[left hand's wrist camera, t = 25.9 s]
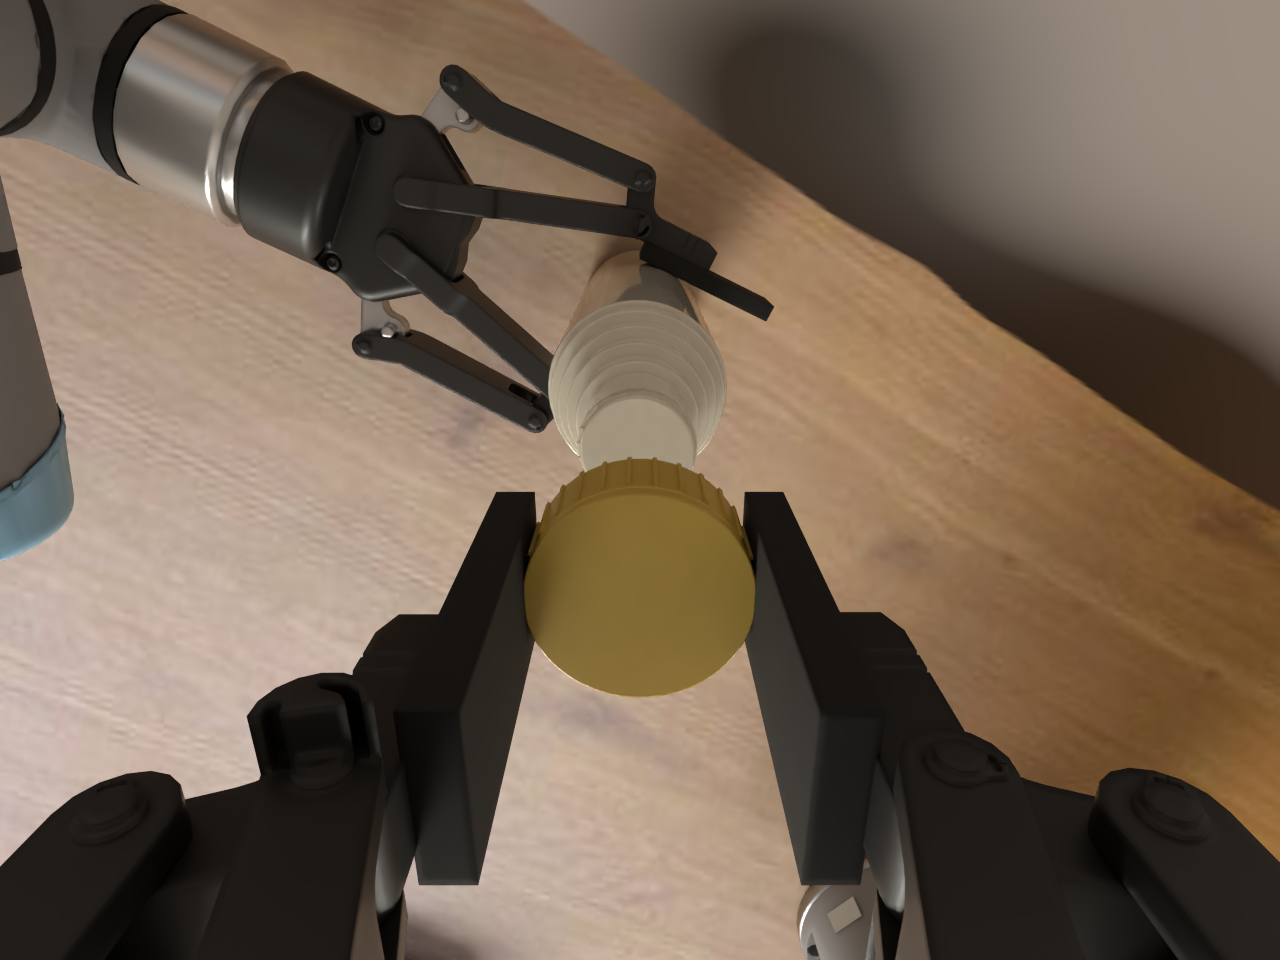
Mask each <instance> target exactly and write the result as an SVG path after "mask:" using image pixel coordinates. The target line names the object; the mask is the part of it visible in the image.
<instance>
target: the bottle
mask: <svg viewBox="0 0 1280 960" xmlns="http://www.w3.org/2000/svg"><path fill="white" fill-rule="evenodd" d="M640 251H641V250H633V251H627V252H623V253H620V254H617V255H615V256H613V257H611V258H610V259H608V260H607V261H605V262H604V263H603V264H602V265H601V266H600V267H599V268H598V269H597V270H596V271H595V273H594V274H593V276H592V278H591V279H590V281H589V283H588V285H587V287H586V289H585V292H584V294H583V296H582V298H581V300H580V302H579V304H578V306H577V308H576V310H575V312H574V314H573V316H572V319H571V321H570V323H569V325H568V327H567V329H566V331H565V333H564V335H563V337H562V339H561V341H560V344H559V346H558V348H557V350H556V352H555V355H554V357H553V360H552V363H551V367H550V371H549V380H548V395H549V401H550V407H551V410H552V413H553V416H554V419H555V423H556V425H557V427H558V429H559V432H560V434H561V435H562V437H563V438H564V440H565V442H566V443H567V444H568V445H569V447H570V448H571V449H572V450H573V451H574V452H575V453H576V454H577V455H578V456H579V460H580V463H581V465H582V468H583V470H584V472H587V471H589V470H591V469H593V468H596V467H598V466H600V465H602V463H603V462H605V461H607V463H611V462H614V461H620V460H626V459H627V457H632V459H653V457H656V458H657V460H661V461H665V462H669V463H673V464H676V465H677V463H681V464H682V467H684V468H687V469H689V470H691V471H692V469H693V467H694V464H695V460H696V456H697V455H698V454H699V453H700V452H701V451H702V450H703V449H704V448H705V447H706V445H707V444H708V443H709V441H710V440H711V438H712V437H713V435H714V433H715V431H716V429H717V427H718V425H719V422H720V419H721V416H722V413H723V410H724V406H725V401H726V393H727V381H726V372H725V368H724V363H723V360H722V358H721V355H720V352H719V350H718V348H717V346H716V344H715V341H714V339H713V337H712V335H711V333H710V331H709V329H708V326H707V324H706V322H705V320H704V318H703V316H702V314H701V311H700V309H699V307H698V305H697V303H696V301H695V299H694V296H693V294H692V292H691V290H690V288H689V286H688V284H687V282H685V281H683V280H681V279H679V278H677V277H675V276H673V275H671V274H669V273H667V272H665V271H663V270H661V269H659V268H657V267H655V266H653V265H651V264H649V263H647V262H645V261H643V260H640V259H639V253H640Z"/></svg>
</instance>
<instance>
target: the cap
mask: <svg viewBox="0 0 1280 960" xmlns="http://www.w3.org/2000/svg"><path fill="white" fill-rule="evenodd" d="M527 556H530V559H529V563H528V566H527V569H526V573H525V578H524V595H525V610H526V620H527V624H528V626H529V629H530V631H531V634H532V636H533V638H534V639H535V641H536V643H537V644H538V646H539V648H540V649H541V650H542V652H543V653H544V654H545V655H546V657H547V658H548V659H549V660H550V661H551V662H552V663H553V664H554V665H555V666H556V667H557V668H558V669H560V670H561V671H562V672H564V673H565V674H566V675H567V676H569V677H571V678H572V679H574V680H576V681H577V682H579V683H581V684H583V685H585V686H588V687H590V688H592V689H595V690H598V691H601V692H604V693H608V694H613V695H618V696H625V697H654V696H662V695H667V694H671V693H675V692H679V691H682V690H685V689H687V688H690V687H692V686H694V685H696V684H698V683H701V682H703V681H704V680H706V679H707V678H709V677H711V676H712V675H714V674H715V673H716V672H718V671H719V670H720V669H721V668H722V667H724V666H725V665H726V664H727V663H728V662H729V661H730V660H731V659H732V657H733V656H734V655H735V654H736V653H737V651H738V650H739V648H740V647H741V646H742V644H743V643H744V641H745V639H746V637H747V635H748V633H749V631H750V628H751V625H752V623H753V617H754V602H755V586H756V578H755V574H754V571H753V567H752V563H751V560H753V555H752V551H751V548H750V545H749V542H748V538H747V535H746V532H745V529H744V526H741V524H740V521H739V517H738V514H737V511H736V508H735V506H732V507H731V506H730V504H729V502H728V501H727V500H726V499H725V497H724V496H723V492H722V490H721V489H720V488H718V489H716V488H715V487H714V486H713V485H712V484H711V483H710V482H708V481H707V480H706V479H704V475H703V474H701V473H700V474H699V475H698V474H696V473H695V472H693V471H691V470H689V469H687V468H684V467H682V464H681V463H677V465H676V464H673V463H669V462H665V461H661V460H657V458H656V457H653V459H632V457H627V459H626V460H620V461H614V462H611V463H607V461H605V462H603V463H602V465H600V466H598V467H596V468H593V469H591V470H589V471H587V472H584V471H582V472H580V475H579V476H578V477H577V478H575V479H574V480H573V481H572V482H570V483H569V484H568V485H566V486H565V485H563V486H561V489H560V492H559V493H558V494H557V496H556V497H555V498H554V500H553V501H552V502H551V503H549V502H548V503H547V504H546V507H545V510H544V514H543V517H542V520H541V523H540V522H537V525H536V528H535V531H534V535H533V538H532V541H531V544H530V547H529V551H528V554H527Z"/></svg>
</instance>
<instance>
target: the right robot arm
mask: <svg viewBox="0 0 1280 960" xmlns="http://www.w3.org/2000/svg"><path fill="white" fill-rule="evenodd" d="M440 85H441V88H440V90H439V91H438V92H437V94H436V95H435V97H434V98H433V100H432V101H431V103H430V104H429V105H428V107H427V108H426V110H425V111H424V113H423V114H422V116H418V115H394V114H391V113H389V112H387V111H385V110H383V109H381V108H379V107H377V106H375V105H373V104H371V103H369V102H367V101H365V100H363V99H361V98H359V97H357V96H355V95H353V94H351V93H349V92H347V91H345V90H343V89H341V88H339V87H337V86H335V85H333V84H331V83H329V82H327V81H325V80H322V79H320V78H318V77H316V76H314V75H312V74H310V73H308V72H304V71H300V72H296V73H293V71H292V69H291V68H290V67H289V65H288V64H287V63H286V62H285V61H284V60H282V59H280V58H278V57H276V56H274V55H272V54H270V53H268V52H266V51H264V50H262V49H260V48H258V47H256V46H254V45H252V44H250V43H248V42H246V41H244V40H242V39H240V38H238V37H236V36H234V35H232V34H230V33H228V32H226V31H224V30H222V29H220V28H218V27H216V26H214V25H212V24H210V23H208V22H206V21H204V20H202V19H200V18H198V17H196V16H194V15H192V14H188V13H186V12H184V11H182V10H180V9H178V8H176V7H172V6H169V5H167V4H165V3H163V2H161V1H159V0H0V137H6V138H21V139H29V140H34V141H37V142H41V143H44V144H47V145H50V146H52V147H55V148H57V149H60V150H62V151H64V152H67V153H69V154H71V155H73V156H76V157H78V158H80V159H83V160H85V161H87V162H90V163H92V164H94V165H96V166H99V167H101V168H103V169H105V170H108V171H110V172H112V173H114V174H116V175H119V176H122V177H123V178H125V179H127V180H129V181H131V182H134V183H136V184H138V185H140V186H143V187H145V188H147V189H149V190H151V191H153V192H155V193H157V194H160V195H162V196H164V197H166V198H168V199H170V200H172V201H175V202H177V203H179V204H181V205H183V206H185V207H187V208H190V209H192V210H194V211H196V212H198V213H200V214H202V215H204V216H207V217H209V218H211V219H213V220H215V221H217V222H219V223H222V224H224V225H226V226H230V227H238V226H241V225H242V226H243V228H244V230H245V231H246V232H247V233H248V234H249V235H250V236H251V237H253V238H255V239H257V240H260V241H262V242H264V243H266V244H268V245H271V246H273V247H275V248H277V249H279V250H282V251H284V252H286V253H288V254H290V255H293V256H295V257H297V258H299V259H301V260H304V261H306V262H308V263H310V264H312V265H314V266H317V267H319V268H321V269H323V270H326V271H328V272H330V273H333V274H335V275H336V276H338V277H339V278H341V279H342V280H343V281H344V282H345V283H346V284H347V285H348V286H349V287H350V288H351V290H352V291H353V292H354V293H355V294H356V295H357V296H359V297H360V298H362V304H361V333H360V334H358V335H356V336H355V337H354V339H353V341H352V348H353V350H354V352H355V354H357V355H358V356H359V357H361V358H364V359H370V360H376V361H382V362H389V363H395V364H400V365H402V366H404V367H406V368H408V369H410V370H412V371H414V372H416V373H418V374H420V375H422V376H423V377H425V378H427V379H429V380H431V381H433V382H435V383H437V384H439V385H441V386H443V387H445V388H447V389H449V390H450V391H452V392H454V393H456V394H458V395H460V396H462V397H464V398H466V399H468V400H470V401H472V402H474V403H475V404H477V405H479V406H481V407H483V408H485V409H487V410H489V411H491V412H493V413H495V414H497V415H499V416H501V417H502V418H504V419H506V420H508V421H510V422H512V423H514V424H516V425H518V426H520V427H522V428H524V429H526V430H528V431H529V432H533V433H539V432H541V431H543V430H544V429H545V428H546V426H547V424H548V423H549V422H550V421H551V420H552V419H553V418H554V416H553V413H552V410H551V407H550V401H549V395H548V380H549V371H550V367H551V363H552V360H553V357H554V356H553V355H552V354H551V353H550V352H549V351H548V350H547V349H546V348H544V347H543V346H542V345H541V344H540V343H539V342H538V341H537V340H535V339H534V338H533V337H532V336H531V335H530V334H529V333H528V332H526V331H525V330H524V329H523V328H522V327H521V326H520V325H519V324H518V323H516V322H515V321H514V320H513V319H512V318H511V317H510V316H509V315H507V314H506V313H505V312H504V311H503V310H502V309H501V308H500V307H498V306H497V305H496V304H495V303H494V302H493V301H492V300H491V299H489V298H488V297H487V296H486V295H485V294H484V293H483V292H482V291H481V290H480V289H479V288H478V286H477V285H476V283H475V282H474V281H473V280H472V279H471V278H469V277H468V276H467V275H466V274H465V273H464V272H463V270H464V267H465V265H466V262H467V256H468V245H469V242H470V240H471V239H472V237H473V236H474V235H475V233H476V232H477V231H478V229H479V227H480V224H481V222H482V219H483V217H484V218H493V219H504V220H511V221H518V222H525V223H532V224H539V225H546V226H553V227H560V228H568V229H575V230H582V231H589V232H596V233H603V234H610V235H617V236H624V237H631V238H637V239H639V240H641V241H643V242H644V244H643V246H642V249H641V251H640V253H639V259H640V260H643V261H645V262H647V263H649V264H651V265H653V266H655V267H657V268H659V269H661V270H663V271H665V272H667V273H669V274H671V275H673V276H675V277H677V278H679V279H681V280H683V281H685V282H687V283H689V284H691V285H693V286H695V287H697V288H699V289H701V290H703V291H705V292H707V293H709V294H711V295H713V296H715V297H718V298H720V299H722V300H724V301H726V302H728V303H730V304H732V305H734V306H736V307H738V308H740V309H742V310H744V311H746V312H748V313H750V314H752V315H754V316H756V317H758V318H760V319H762V320H764V321H767V319H768V317H769V315H770V313H771V312H772V310H773V308H774V306H773V305H772V304H771V303H770V302H769V301H768V300H767V299H765V298H764V297H762V296H760V295H758V294H756V293H754V292H752V291H750V290H748V289H746V288H744V287H742V286H740V285H738V284H736V283H734V282H732V281H730V280H728V279H726V278H724V277H722V276H720V275H718V274H716V273H714V272H712V271H710V270H709V269H710V267H711V265H712V263H713V261H714V259H715V257H716V255H717V252H716V251H715V250H714V248H713V247H712V246H711V245H710V244H709V243H708V242H707V241H705V240H703V239H701V238H699V237H697V236H695V235H693V234H691V233H689V232H687V231H685V230H683V229H681V228H679V227H678V226H676V225H674V224H672V223H670V222H668V221H666V220H664V219H662V218H661V217H659V216H658V215H657V214H656V212H655V209H654V194H655V184H656V174H655V171H654V169H653V168H652V167H651V166H650V165H648V164H647V163H644V162H642V161H640V160H637V159H635V158H633V157H630V156H628V155H626V154H623V153H621V152H619V151H616V150H614V149H612V148H609V147H607V146H605V145H602V144H600V143H597V142H595V141H593V140H590V139H588V138H586V137H583V136H581V135H579V134H576V133H574V132H572V131H569V130H567V129H565V128H562V127H560V126H558V125H555V124H553V123H551V122H548V121H546V120H544V119H541V118H539V117H537V116H534V115H532V114H530V113H527V112H525V111H523V110H520V109H518V108H516V107H513V106H511V105H509V104H506V103H504V102H502V101H501V100H500V99H499V98H498V97H497V96H495V95H494V94H493V93H492V92H491V91H490V90H489V89H488V88H487V87H486V86H485V85H484V84H483V83H481V82H480V81H479V80H478V79H477V78H476V77H475V76H474V75H472V74H470V73H469V72H468V71H466V70H464V69H463V68H461V67H459V66H458V65H448V66H446V67H445V68H444V69H443V70H442V72H441V74H440ZM483 125H484V126H485V127H487V128H489V129H491V130H493V131H495V132H497V133H499V134H501V135H504V136H506V137H509V138H511V139H513V140H516V141H518V142H520V143H523V144H525V145H528V146H530V147H532V148H535V149H537V150H539V151H542V152H544V153H547V154H549V155H551V156H554V157H556V158H558V159H561V160H563V161H566V162H568V163H570V164H573V165H575V166H577V167H580V168H582V169H585V170H587V171H589V172H592V173H594V174H596V175H599V176H601V177H604V178H606V179H608V180H611V181H613V182H615V183H618V184H620V185H623V186H625V187H627V188H628V192H627V204H626V206H623V205H616V204H609V203H602V202H596V201H589V200H582V199H575V198H568V197H561V196H554V195H547V194H540V193H533V192H526V191H519V190H512V189H506V188H500V187H494V186H487V185H480V184H474V183H473V181H472V180H471V178H470V176H469V175H468V173H467V171H466V170H465V168H464V166H463V164H462V163H461V161H460V159H459V158H458V156H457V154H456V152H455V151H454V149H453V147H452V146H451V144H450V142H449V141H448V139H447V137H446V135H445V133H446V132H447V131H448V130H449V129H451V128H458V129H460V130H462V131H465V132H469V133H474V132H477V131H479V130H480V129H481V128H482V126H483ZM637 239H636V240H637ZM21 269H22V266H21V262H20V258H19V254H18V250H17V243H16V239H15V234H14V230H13V226H12V222H11V218H10V214H9V210H8V205H7V201H6V197H5V193H4V189H3V185H2V181H1V176H0V561H3V560H6V559H9V558H11V557H14V556H16V555H18V554H21V553H23V552H25V551H27V550H29V549H31V548H33V547H35V546H37V545H38V544H40V543H42V542H43V541H45V540H46V539H48V538H49V537H51V536H52V535H53V534H54V533H55V532H56V531H58V530H59V529H60V528H61V527H62V526H63V524H64V523H65V522H66V521H67V519H68V517H69V515H70V513H71V511H72V508H73V504H74V492H73V485H72V479H71V472H70V465H69V459H68V452H67V445H66V439H65V433H66V425H65V421H64V414H63V413H62V411H61V409H60V408H59V406H58V403H56V399H55V395H54V392H53V388H52V384H51V380H50V377H49V373H48V369H47V365H46V361H45V358H44V354H43V350H42V346H41V342H40V339H39V335H38V331H37V327H36V324H35V320H34V316H33V312H32V308H31V305H30V301H29V297H28V293H27V289H26V286H25V282H24V278H23V274H22V271H21ZM416 294H423V295H424V296H425V297H427V298H428V299H429V300H430V301H431V302H432V303H434V304H435V305H436V306H437V307H438V308H439V309H441V310H442V311H443V312H445V313H446V314H448V315H451V316H453V317H454V318H456V319H457V320H458V321H459V322H460V323H461V324H463V325H464V326H465V327H466V328H467V329H468V330H469V331H471V332H472V333H473V334H474V335H475V336H476V337H478V338H479V339H480V340H481V341H482V342H483V343H484V344H486V345H487V346H488V347H489V348H490V349H491V350H492V351H494V352H495V353H496V354H497V355H498V356H499V357H501V358H502V359H503V360H504V361H505V362H506V363H507V364H509V365H510V366H511V367H512V368H513V369H514V370H516V371H517V372H518V373H519V374H520V375H521V376H522V377H524V378H525V379H526V380H527V381H528V382H529V383H531V384H532V385H533V386H534V387H535V388H536V389H537V390H539V391H540V392H541V393H540V394H538V393H537V392H535V391H533V390H531V389H529V388H527V387H525V386H523V385H521V384H520V383H518V382H516V381H514V380H512V379H510V378H508V377H506V376H505V375H503V374H501V373H499V372H497V371H495V370H493V369H491V368H489V367H488V366H486V365H484V364H482V363H480V362H478V361H476V360H474V359H473V358H471V357H469V356H467V355H465V354H463V353H461V352H459V351H457V350H456V349H454V348H452V347H450V346H448V345H446V344H444V343H442V342H441V341H439V340H437V339H435V338H433V337H431V336H429V335H427V334H424V333H422V332H419V331H416V330H412V329H410V325H409V322H408V320H407V319H406V318H405V317H404V316H402V315H400V314H398V313H396V312H394V311H393V310H392V308H391V307H390V305H389V300H391V299H396V298H401V297H406V296H411V295H416Z"/></svg>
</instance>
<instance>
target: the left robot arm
mask: <svg viewBox="0 0 1280 960" xmlns="http://www.w3.org/2000/svg"><path fill="white" fill-rule="evenodd" d="M536 525H537V523H536V506H535V492H496V494H495V496H494V498H493V500H492V502H491V504H490V506H489V509H488V511H487V513H486V515H485V517H484V519H483V521H482V523H481V526H480V528H479V530H478V532H477V534H476V536H475V538H474V540H473V543H472V545H471V547H470V549H469V551H468V553H467V555H466V557H465V559H464V562H463V564H462V566H461V568H460V570H459V572H458V574H457V576H456V579H455V581H454V583H453V585H452V587H451V589H450V591H449V593H448V596H447V598H446V600H445V602H444V604H443V606H442V608H441V610H440V612H439V614H399V615H398V616H396V617H395V618H394V619H392V620H391V621H390V622H389V623H387V624H386V625H385V626H383V627H382V628H381V629H379V630H378V631H377V632H376V633H375V634H374V636H373V638H372V639H371V641H370V643H369V644H368V646H367V648H366V649H365V651H364V653H363V657H361V658H360V659H359V661H358V663H357V665H356V666H355V668H354V670H353V675H349V674H346V673H319V674H314V675H310V676H306V677H301V678H297V679H295V680H293V681H291V682H288V683H286V684H284V685H281V686H279V687H277V688H275V689H274V690H272V691H271V692H270V693H268V694H267V695H266V696H264V697H263V698H262V699H260V700H259V701H258V702H257V703H256V704H255V706H254V707H253V708H252V710H251V711H250V713H249V714H248V715H247V719H248V724H249V728H250V732H251V736H252V740H253V744H254V748H255V752H256V757H257V761H258V765H259V769H260V773H261V776H260V779H259V780H258V781H256V782H253V783H249V784H246V785H243V786H240V787H236V788H232V789H228V790H224V791H219V792H215V793H211V794H207V795H202V796H198V797H194V798H189V799H185V798H184V795H183V791H182V788H181V784H179V783H178V782H177V781H176V780H175V779H174V778H173V777H172V776H171V775H169V774H164V773H159V772H154V771H147V772H138V773H129V774H124V775H121V776H118V777H115V778H112V779H109V780H106V781H103V782H100V783H98V784H96V785H94V786H92V787H91V788H89V789H87V790H85V791H83V792H81V793H79V794H78V795H76V796H74V797H72V798H71V799H70V800H69V801H67V802H66V803H65V804H64V805H62V806H61V807H60V808H59V809H58V810H56V811H55V812H54V813H53V814H51V815H50V816H49V817H48V818H47V819H46V820H45V821H44V822H43V823H42V824H41V825H40V827H39V828H38V829H37V830H36V831H35V832H34V833H33V834H32V835H31V836H30V837H29V838H28V839H27V840H26V841H25V842H24V843H23V844H22V845H21V846H20V847H19V848H18V849H17V850H16V851H15V852H14V853H13V854H12V855H11V856H10V857H9V858H8V859H7V860H6V861H5V862H4V863H3V864H2V865H1V866H0V960H404V955H405V943H406V932H407V920H408V915H407V908H406V901H405V895H404V889H403V888H404V885H405V882H406V879H407V876H408V873H409V870H410V867H411V864H412V861H413V858H414V856H415V862H416V869H417V875H418V882H419V885H478V884H479V879H480V875H481V871H482V866H483V862H484V858H485V853H486V849H487V845H488V840H489V836H490V832H491V827H492V823H493V819H494V815H495V810H496V806H497V802H498V797H499V793H500V789H501V784H502V780H503V776H504V771H505V767H506V763H507V758H508V754H509V750H510V745H511V741H512V737H513V732H514V728H515V724H516V719H517V715H518V711H519V706H520V702H521V698H522V694H523V689H524V685H525V681H526V676H527V672H528V668H529V663H530V659H531V655H532V650H533V646H534V642H535V639H534V638H533V636H532V634H531V631H530V629H529V626H528V624H527V620H526V610H525V595H524V578H525V573H526V569H527V566H528V563H529V559H530V556H527V554H528V551H529V547H530V544H531V541H532V538H533V535H534V531H535V528H536ZM743 526H744V529H745V532H746V535H747V538H748V542H749V545H750V548H751V551H752V555H753V560H751V563H752V567H753V571H754V574H755V578H756V586H755V602H754V617H753V623H752V625H751V628H750V631H749V633H748V635H747V637H746V639H745V644H746V648H747V652H748V657H749V661H750V665H751V670H752V674H753V678H754V683H755V687H756V691H757V696H758V700H759V704H760V709H761V713H762V717H763V721H764V726H765V730H766V734H767V739H768V743H769V747H770V752H771V756H772V760H773V765H774V769H775V773H776V778H777V782H778V786H779V791H780V795H781V799H782V804H783V808H784V812H785V817H786V821H787V825H788V830H789V834H790V838H791V843H792V847H793V851H794V855H795V860H796V864H797V868H798V873H799V877H800V881H801V885H812V886H811V887H810V888H809V889H808V891H807V892H806V894H805V895H804V897H803V899H802V901H801V904H800V907H799V910H798V915H797V929H798V933H799V938H800V943H801V948H802V951H803V953H804V956H805V959H806V960H1280V862H1279V861H1278V860H1277V859H1276V858H1275V857H1274V856H1273V855H1272V854H1271V853H1270V852H1269V851H1268V850H1267V849H1266V848H1265V847H1264V846H1263V845H1262V844H1261V843H1260V842H1259V841H1258V840H1257V839H1256V838H1255V837H1254V836H1253V835H1252V834H1251V833H1250V832H1249V831H1248V830H1247V829H1246V828H1245V827H1244V826H1243V825H1242V824H1241V823H1240V822H1239V821H1238V820H1237V819H1236V818H1235V817H1234V816H1233V815H1232V813H1231V812H1229V811H1228V810H1227V809H1226V808H1225V807H1223V806H1222V805H1221V804H1220V803H1218V802H1217V801H1216V800H1215V799H1213V798H1212V797H1211V796H1210V795H1208V794H1207V793H1205V792H1203V791H1201V790H1200V789H1198V788H1196V787H1194V786H1192V785H1190V784H1188V783H1186V782H1185V781H1183V780H1181V779H1178V778H1175V777H1172V776H1169V775H1166V774H1162V773H1159V772H1156V771H1152V770H1143V769H1135V768H1126V769H1121V770H1116V771H1111V772H1110V773H1108V774H1107V775H1106V776H1105V777H1104V778H1103V779H1102V780H1101V781H1100V782H1099V786H1098V789H1097V792H1096V796H1090V795H1086V794H1082V793H1077V792H1073V791H1069V790H1064V789H1060V788H1056V787H1052V786H1047V785H1043V784H1040V783H1037V782H1033V781H1030V780H1027V779H1024V778H1022V777H1020V775H1019V773H1018V771H1017V770H1016V768H1015V767H1014V765H1013V764H1012V762H1011V760H1010V759H1009V758H1008V757H1007V756H1006V755H1005V754H1004V753H1002V752H1001V751H1000V750H999V749H998V748H996V747H995V746H994V745H993V744H991V743H989V742H987V741H985V740H983V739H981V738H979V737H977V736H975V735H973V734H971V733H968V732H965V731H964V729H963V727H962V726H961V724H960V722H959V721H958V719H957V717H956V716H955V714H954V712H953V711H952V709H951V707H950V706H949V704H948V702H947V701H946V699H945V697H944V696H943V694H942V692H941V691H940V689H939V687H938V686H937V684H936V682H935V681H934V679H933V677H932V676H931V674H930V673H927V667H926V666H925V664H924V662H923V661H922V659H921V657H920V656H919V655H917V651H916V649H915V647H914V646H913V644H912V642H911V641H910V639H909V637H908V636H907V634H906V632H905V631H904V630H903V629H902V628H901V627H900V626H898V625H897V624H896V623H894V622H893V621H892V620H890V619H889V618H888V617H886V616H885V615H884V614H882V613H881V612H840V611H839V609H838V607H837V605H836V603H835V601H834V599H833V597H832V595H831V592H830V590H829V588H828V586H827V584H826V582H825V580H824V578H823V575H822V573H821V571H820V569H819V567H818V565H817V563H816V561H815V558H814V556H813V554H812V552H811V550H810V548H809V546H808V544H807V541H806V539H805V537H804V535H803V533H802V531H801V529H800V527H799V524H798V522H797V520H796V518H795V516H794V514H793V512H792V510H791V508H790V505H789V503H788V501H787V499H786V497H785V495H784V493H783V492H745V497H744V515H743Z"/></svg>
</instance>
